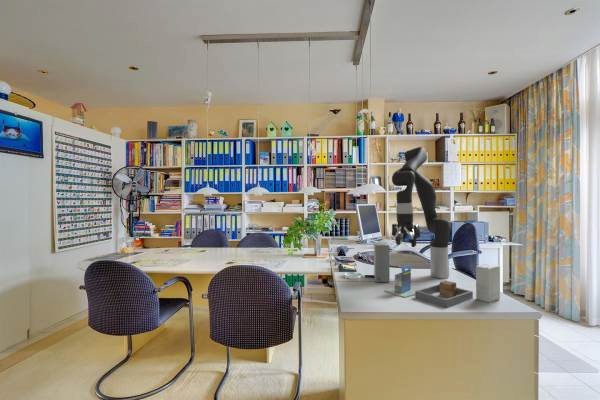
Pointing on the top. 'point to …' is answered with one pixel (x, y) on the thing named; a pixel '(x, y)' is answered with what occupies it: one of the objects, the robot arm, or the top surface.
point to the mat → (405, 294)
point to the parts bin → (461, 297)
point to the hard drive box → (381, 262)
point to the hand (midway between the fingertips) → (405, 245)
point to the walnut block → (448, 289)
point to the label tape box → (403, 280)
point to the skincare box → (488, 282)
